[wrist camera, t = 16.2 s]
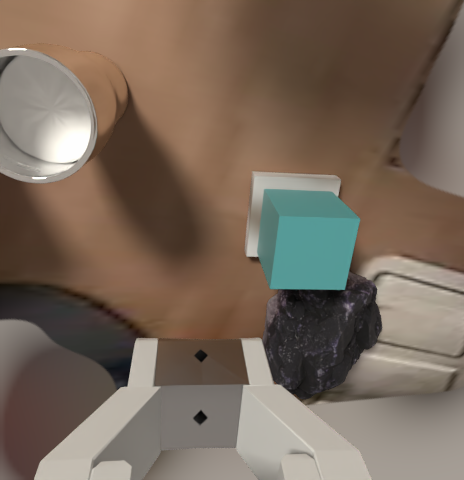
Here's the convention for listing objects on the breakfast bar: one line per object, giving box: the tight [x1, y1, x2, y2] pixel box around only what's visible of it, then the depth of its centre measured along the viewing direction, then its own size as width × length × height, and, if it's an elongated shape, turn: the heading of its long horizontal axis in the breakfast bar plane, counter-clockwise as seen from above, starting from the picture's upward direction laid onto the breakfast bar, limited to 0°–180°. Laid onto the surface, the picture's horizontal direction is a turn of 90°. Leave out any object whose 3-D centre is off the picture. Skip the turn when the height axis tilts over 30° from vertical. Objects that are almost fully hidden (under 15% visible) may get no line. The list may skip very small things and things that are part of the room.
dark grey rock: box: [262, 271, 382, 399], centre depth 42 cm, size 13×14×10 cm
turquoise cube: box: [257, 189, 360, 290], centre depth 35 cm, size 6×6×7 cm
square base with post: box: [245, 171, 341, 257], centre depth 37 cm, size 8×8×8 cm
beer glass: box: [0, 43, 128, 183], centre depth 28 cm, size 7×7×15 cm
